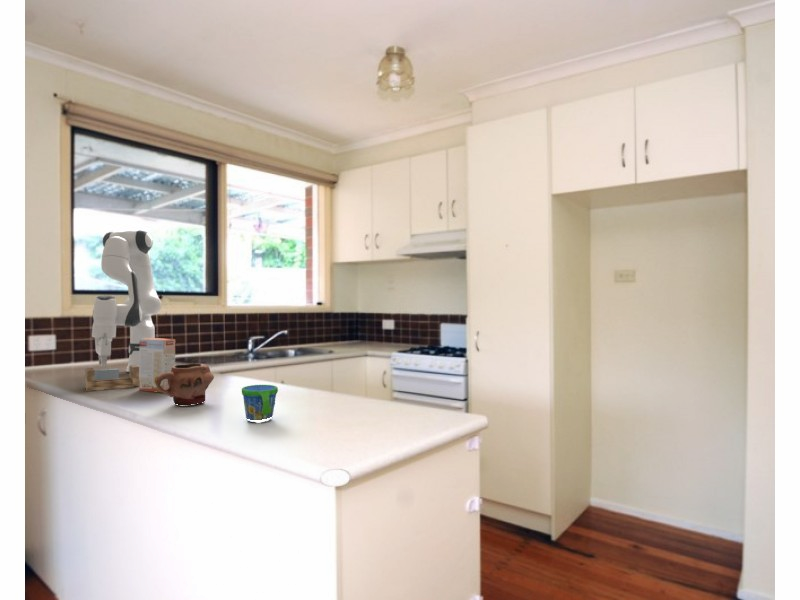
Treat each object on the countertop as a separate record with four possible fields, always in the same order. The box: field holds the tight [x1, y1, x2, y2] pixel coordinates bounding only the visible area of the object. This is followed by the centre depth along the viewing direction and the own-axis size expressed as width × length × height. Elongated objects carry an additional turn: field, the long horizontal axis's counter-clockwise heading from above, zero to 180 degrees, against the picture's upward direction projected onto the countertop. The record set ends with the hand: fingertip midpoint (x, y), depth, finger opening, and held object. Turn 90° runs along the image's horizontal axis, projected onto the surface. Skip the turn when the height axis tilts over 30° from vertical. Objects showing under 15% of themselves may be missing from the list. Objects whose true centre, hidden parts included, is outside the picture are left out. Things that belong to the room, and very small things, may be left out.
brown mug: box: [156, 363, 215, 405], centre depth 168 cm, size 20×12×14 cm, turn 146°
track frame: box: [84, 365, 139, 392], centre depth 199 cm, size 18×8×8 cm, turn 128°
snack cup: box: [241, 384, 279, 420], centre depth 147 cm, size 16×10×10 cm
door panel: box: [94, 367, 120, 381], centre depth 209 cm, size 10×2×6 cm, turn 128°
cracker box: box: [138, 337, 176, 393], centre depth 193 cm, size 14×6×21 cm, turn 65°
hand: (102, 365), depth 208 cm, fingers open, 8 cm apart
